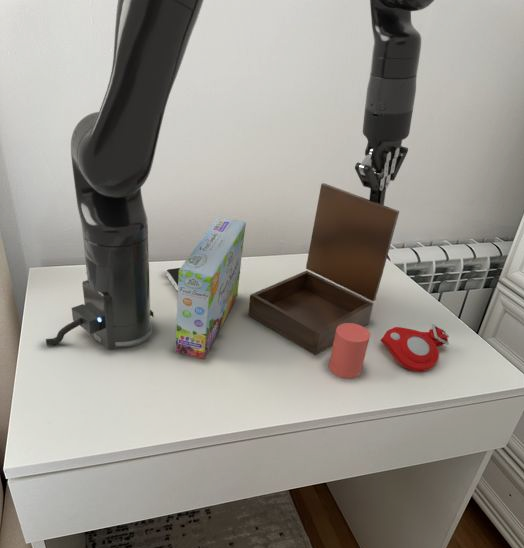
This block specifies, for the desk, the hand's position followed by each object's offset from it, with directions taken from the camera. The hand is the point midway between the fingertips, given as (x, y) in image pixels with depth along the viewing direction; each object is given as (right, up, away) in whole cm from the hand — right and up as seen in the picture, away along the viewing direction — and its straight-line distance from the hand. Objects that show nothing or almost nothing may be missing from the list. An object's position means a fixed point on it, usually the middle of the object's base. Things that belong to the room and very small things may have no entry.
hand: (375, 207), depth 96 cm
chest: (-12, -20, +1) cm, 23 cm away
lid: (-5, -7, -2) cm, 9 cm away
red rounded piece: (+6, -27, -5) cm, 28 cm away
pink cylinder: (-7, -28, -10) cm, 31 cm away
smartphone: (-33, -14, +6) cm, 36 cm away
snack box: (-29, -21, -3) cm, 36 cm away
